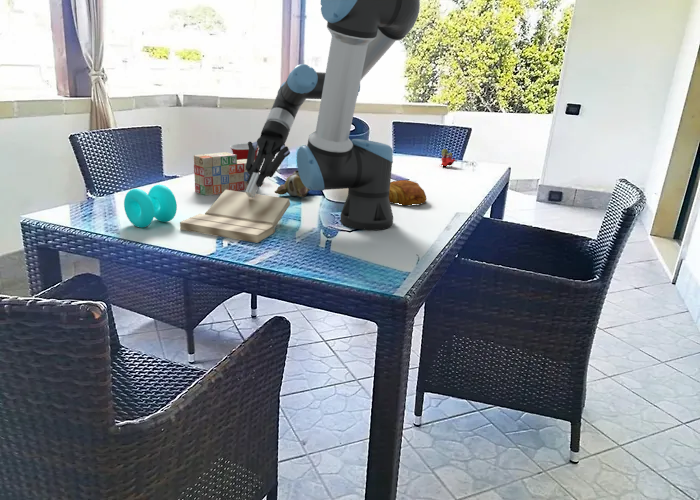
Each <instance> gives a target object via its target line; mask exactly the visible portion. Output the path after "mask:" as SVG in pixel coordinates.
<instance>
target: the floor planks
mask: <svg viewBox="0 0 700 500" xmlns="http://www.w3.org/2000/svg"><path fill="white" fill-rule="evenodd" d="M179 228H180V231H181V230H182V231H185V232H186V231H187V232H192V233H198V234H204V235H211V236H216V237H222V238H226V239H227V238H228V239H233V240H239V241H245V242H252V243H257V244H258V243H260V242H262V241H263V240H265V239H267V238H269V236H272V235H273V234H275V232H276V228H274V226H273V225H267V224H261V223H254V222H248V221H242V220H236V219H229V218H223V217H217V216H211V215H205V213H204V214H203V213H198V214H196V215H194V216H191V217H188V218H186V219H183V220H182V221H180V222H179Z"/></svg>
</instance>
